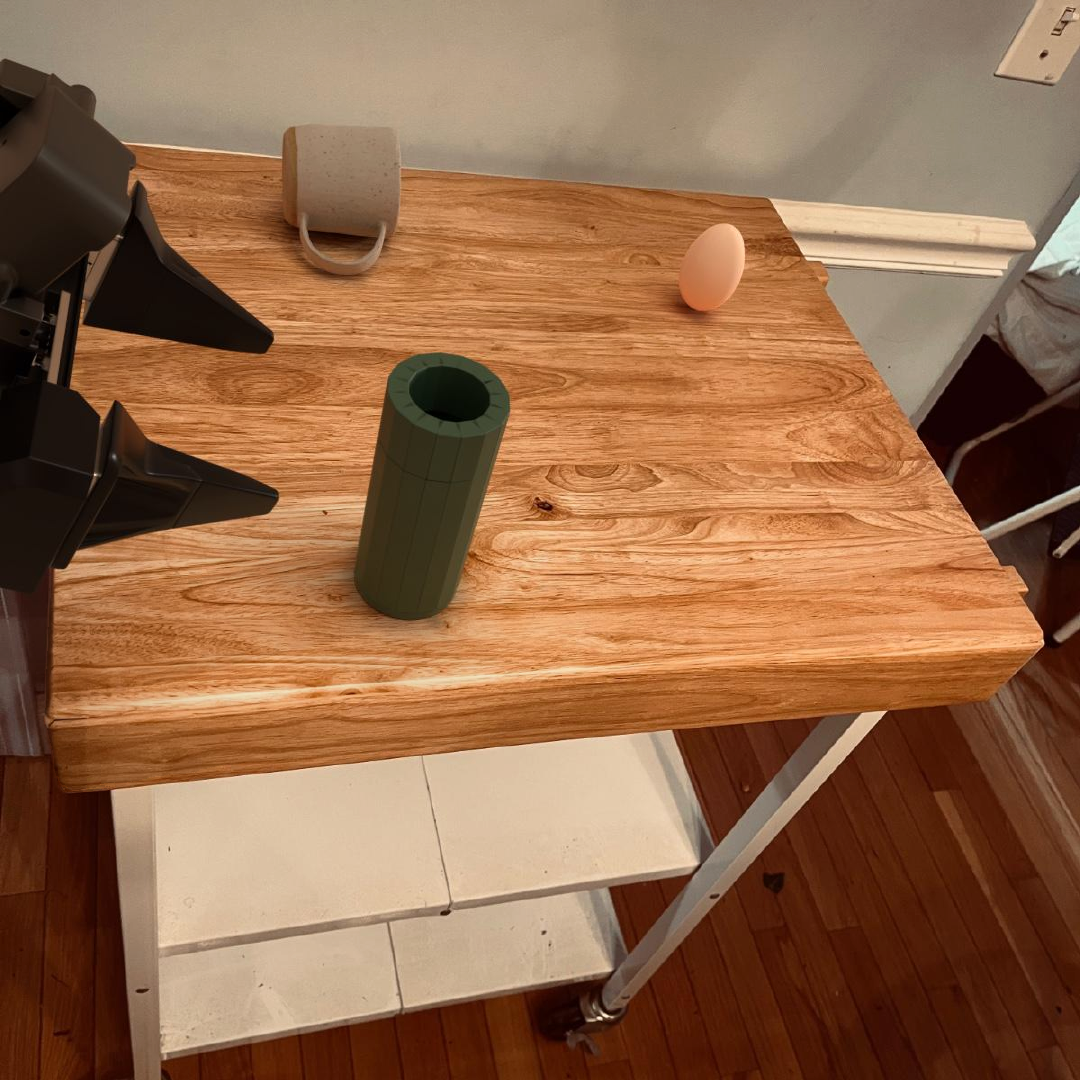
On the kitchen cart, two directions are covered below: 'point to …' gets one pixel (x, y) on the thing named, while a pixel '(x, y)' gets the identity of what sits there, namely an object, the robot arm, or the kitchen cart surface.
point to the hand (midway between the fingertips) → (272, 418)
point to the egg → (712, 267)
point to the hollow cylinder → (428, 482)
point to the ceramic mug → (342, 186)
